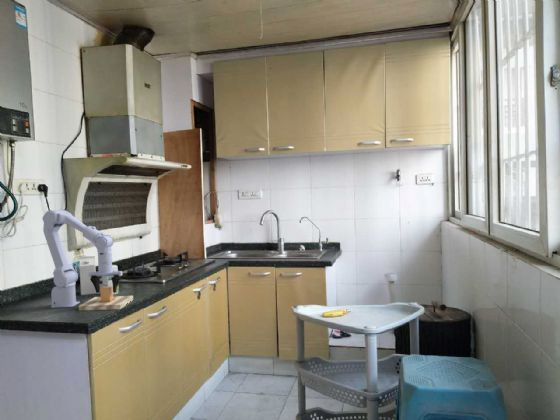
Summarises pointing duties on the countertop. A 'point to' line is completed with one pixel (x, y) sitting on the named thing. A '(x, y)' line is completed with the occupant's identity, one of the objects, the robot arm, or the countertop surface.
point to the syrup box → (110, 280)
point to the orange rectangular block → (106, 294)
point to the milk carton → (87, 274)
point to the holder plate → (105, 303)
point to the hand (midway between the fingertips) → (106, 292)
